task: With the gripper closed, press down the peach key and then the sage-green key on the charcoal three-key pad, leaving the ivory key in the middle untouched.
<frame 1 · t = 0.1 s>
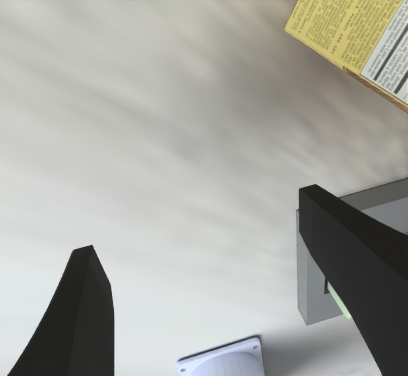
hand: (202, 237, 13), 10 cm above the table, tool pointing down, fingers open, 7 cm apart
keypad: (398, 234, 32), on the table
candy box: (360, 24, 21), on the table
key sage: (361, 281, 29), point 3 cm above the table, slide at 0.0 cm
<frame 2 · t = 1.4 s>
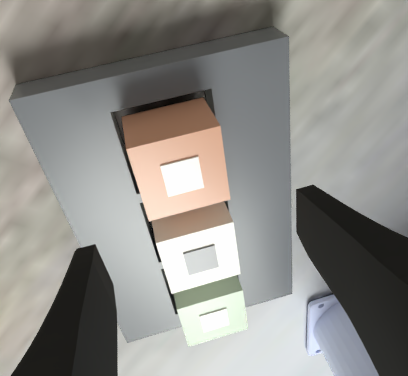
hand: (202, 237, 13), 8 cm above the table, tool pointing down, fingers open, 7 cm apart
key peach: (176, 158, 17), point 3 cm above the table, slide at 0.0 cm
keypad: (183, 204, 23), on the table
key ivory: (195, 240, 21), point 3 cm above the table, slide at 0.0 cm
key sage: (208, 299, 24), point 3 cm above the table, slide at 0.0 cm
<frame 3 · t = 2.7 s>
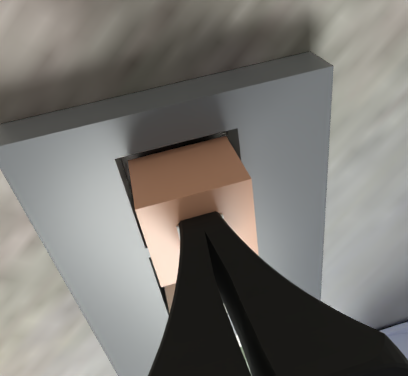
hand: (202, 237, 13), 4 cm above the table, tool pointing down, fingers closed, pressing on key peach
key peach: (194, 210, 14), point 3 cm above the table, slide at 0.2 cm, touching gripper
keypad: (198, 251, 20), on the table
key ivory: (213, 299, 17), point 3 cm above the table, slide at 0.0 cm
key sage: (226, 359, 21), point 3 cm above the table, slide at 0.0 cm
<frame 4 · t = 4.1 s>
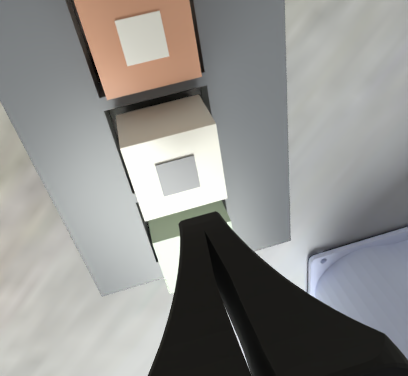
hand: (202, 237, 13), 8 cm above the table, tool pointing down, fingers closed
key peach: (138, 28, 15), point 2 cm above the table, slide at 1.4 cm
keypad: (161, 126, 20), on the table
key ivory: (172, 157, 17), point 3 cm above the table, slide at 0.0 cm
key sage: (192, 239, 20), point 3 cm above the table, slide at 0.0 cm
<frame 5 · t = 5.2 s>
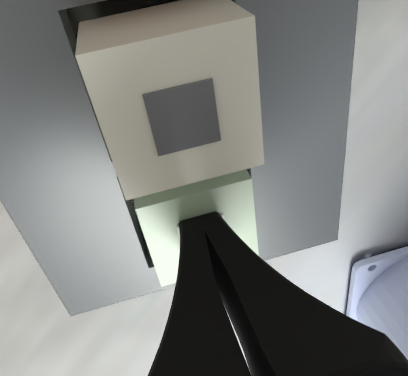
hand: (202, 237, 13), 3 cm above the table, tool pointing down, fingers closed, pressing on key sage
keypad: (157, 59, 13), on the table
key ivory: (173, 94, 10), point 3 cm above the table, slide at 0.0 cm
key sage: (194, 210, 14), point 2 cm above the table, slide at 1.4 cm, touching gripper
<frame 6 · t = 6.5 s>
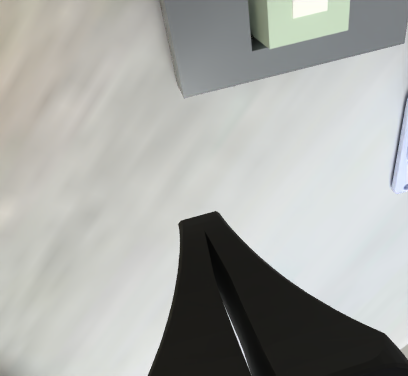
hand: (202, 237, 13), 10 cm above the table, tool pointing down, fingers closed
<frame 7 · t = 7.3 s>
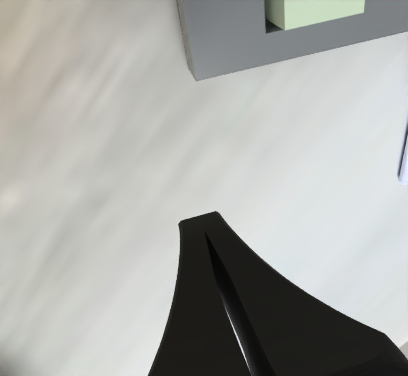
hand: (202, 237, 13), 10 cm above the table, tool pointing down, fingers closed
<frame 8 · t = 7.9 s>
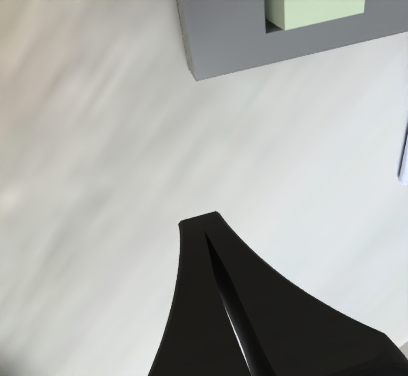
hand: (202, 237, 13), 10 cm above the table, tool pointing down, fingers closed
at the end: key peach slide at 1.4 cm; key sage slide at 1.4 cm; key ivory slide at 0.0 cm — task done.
